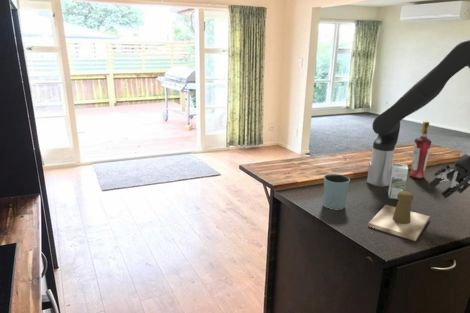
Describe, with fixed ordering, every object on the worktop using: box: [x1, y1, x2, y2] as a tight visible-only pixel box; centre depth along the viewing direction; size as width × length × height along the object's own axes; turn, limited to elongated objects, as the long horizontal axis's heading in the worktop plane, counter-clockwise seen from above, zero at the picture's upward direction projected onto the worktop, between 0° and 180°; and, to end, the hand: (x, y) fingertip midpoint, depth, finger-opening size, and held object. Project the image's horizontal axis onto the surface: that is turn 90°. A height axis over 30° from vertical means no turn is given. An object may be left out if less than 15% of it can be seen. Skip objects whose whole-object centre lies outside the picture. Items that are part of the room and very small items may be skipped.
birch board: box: [367, 204, 430, 242], centre depth 134 cm, size 16×20×2 cm
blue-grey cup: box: [322, 173, 351, 210], centre depth 146 cm, size 10×10×12 cm
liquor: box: [409, 121, 432, 180], centre depth 177 cm, size 7×7×28 cm
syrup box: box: [387, 163, 409, 201], centre depth 155 cm, size 6×6×14 cm
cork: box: [393, 191, 414, 224], centre depth 132 cm, size 6×6×11 cm
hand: (436, 191), depth 131 cm, fingers open, 8 cm apart
